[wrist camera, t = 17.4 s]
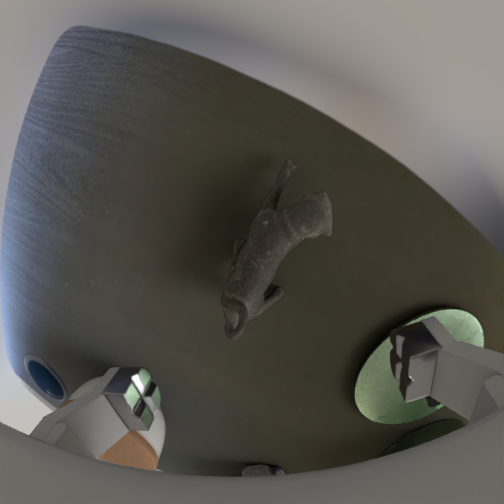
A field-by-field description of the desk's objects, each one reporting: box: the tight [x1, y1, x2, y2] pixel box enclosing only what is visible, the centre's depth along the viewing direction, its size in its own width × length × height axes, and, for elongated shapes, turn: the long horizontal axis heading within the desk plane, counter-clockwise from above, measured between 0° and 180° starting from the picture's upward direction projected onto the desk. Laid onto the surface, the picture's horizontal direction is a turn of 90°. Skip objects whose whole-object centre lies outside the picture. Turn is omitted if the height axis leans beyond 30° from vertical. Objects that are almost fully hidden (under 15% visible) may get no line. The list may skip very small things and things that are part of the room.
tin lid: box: [354, 307, 484, 424], centre depth 24 cm, size 17×17×5 cm
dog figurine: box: [221, 159, 333, 340], centre depth 20 cm, size 12×6×7 cm, turn 151°
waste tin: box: [380, 419, 465, 457], centre depth 26 cm, size 16×16×10 cm
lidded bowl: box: [59, 376, 166, 471], centre depth 26 cm, size 13×13×11 cm
